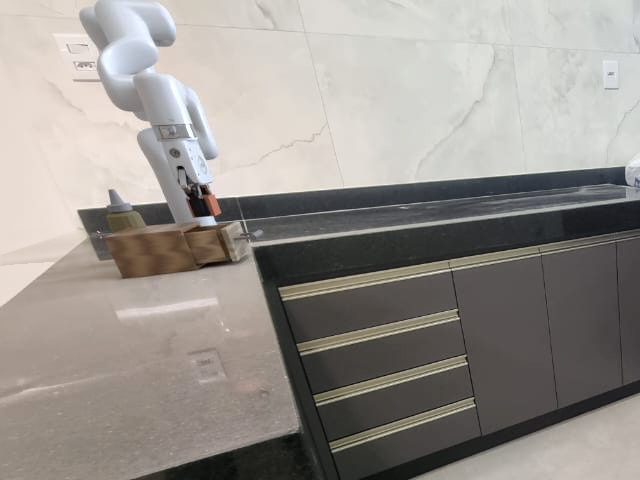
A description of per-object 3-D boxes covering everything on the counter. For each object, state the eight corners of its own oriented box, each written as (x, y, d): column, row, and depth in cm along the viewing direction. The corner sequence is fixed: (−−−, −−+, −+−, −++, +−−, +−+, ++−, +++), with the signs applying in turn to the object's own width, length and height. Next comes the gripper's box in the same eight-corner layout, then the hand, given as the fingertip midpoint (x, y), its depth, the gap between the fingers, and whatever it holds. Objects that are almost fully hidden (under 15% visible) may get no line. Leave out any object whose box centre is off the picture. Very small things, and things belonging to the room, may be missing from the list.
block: (199, 215, 130) (192, 195, 129) (221, 213, 132) (214, 194, 130) (193, 217, 127) (185, 198, 125) (215, 215, 128) (208, 196, 126)
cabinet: (214, 258, 138) (199, 221, 134) (197, 269, 128) (180, 230, 124) (146, 265, 134) (128, 227, 130) (122, 278, 123) (102, 237, 119)
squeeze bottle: (139, 264, 136) (106, 191, 128) (115, 263, 137) (80, 192, 130) (170, 256, 143) (140, 186, 135) (146, 255, 144) (115, 187, 137)
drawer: (271, 248, 142) (261, 219, 138) (260, 258, 132) (249, 226, 129) (189, 257, 136) (177, 227, 133) (172, 268, 126) (158, 235, 123)
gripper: (181, 133, 115) (213, 218, 123) (207, 132, 130) (235, 208, 138) (139, 135, 113) (175, 222, 121) (170, 134, 127) (201, 211, 135)
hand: (206, 213), depth 129 cm, fingers closed on block, 4 cm apart
